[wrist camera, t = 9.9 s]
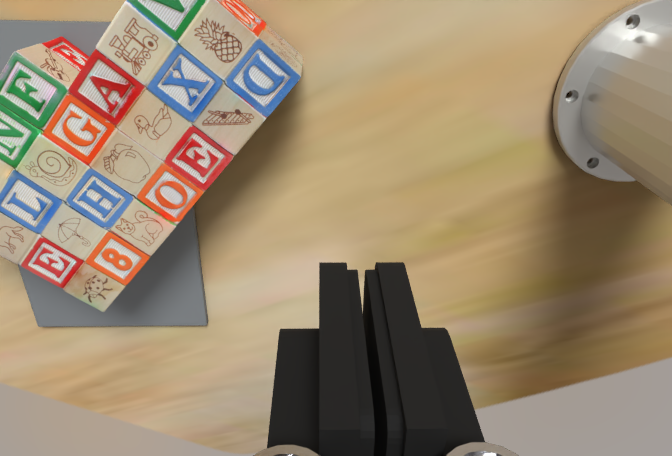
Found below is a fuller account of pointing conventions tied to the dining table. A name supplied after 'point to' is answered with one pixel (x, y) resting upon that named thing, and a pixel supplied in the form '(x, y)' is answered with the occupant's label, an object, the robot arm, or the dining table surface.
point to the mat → (162, 267)
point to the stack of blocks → (128, 135)
